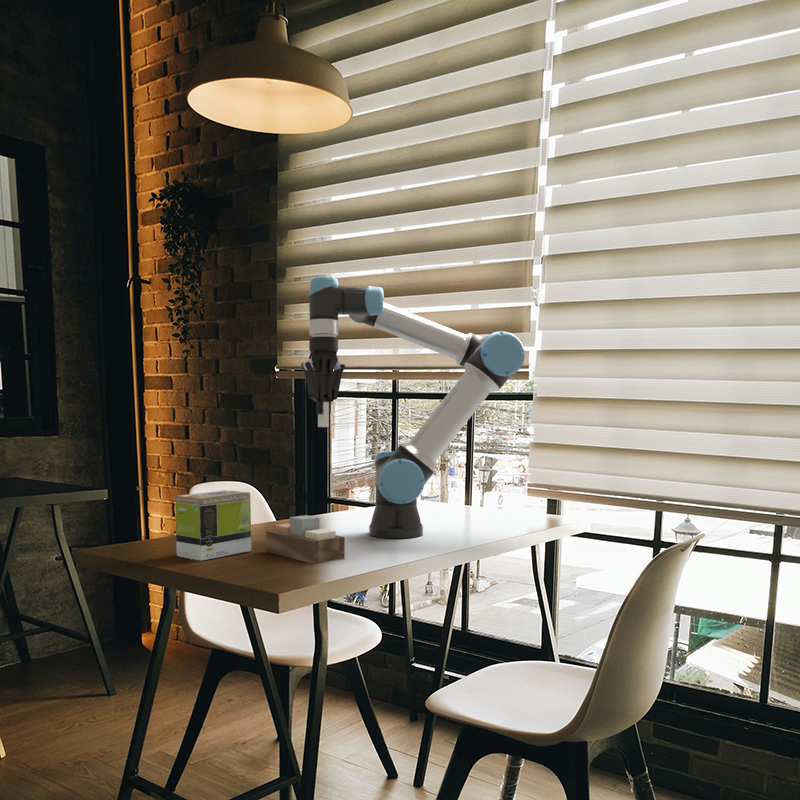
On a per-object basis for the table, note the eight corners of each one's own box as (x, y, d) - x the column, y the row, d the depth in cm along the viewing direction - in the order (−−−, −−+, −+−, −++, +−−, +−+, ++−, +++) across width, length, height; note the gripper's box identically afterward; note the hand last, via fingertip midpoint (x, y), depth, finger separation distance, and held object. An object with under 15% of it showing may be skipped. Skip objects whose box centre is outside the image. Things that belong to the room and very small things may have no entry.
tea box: (226, 547, 183) (226, 488, 183) (252, 552, 177) (252, 491, 177) (174, 556, 172) (175, 493, 172) (200, 562, 165) (200, 497, 165)
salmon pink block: (292, 545, 181) (292, 522, 182) (303, 548, 178) (304, 525, 178) (275, 547, 178) (275, 525, 178) (286, 550, 174) (286, 527, 175)
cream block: (322, 552, 172) (322, 528, 172) (335, 555, 169) (335, 531, 169) (305, 555, 169) (305, 531, 169) (317, 558, 165) (318, 533, 165)
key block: (296, 547, 183) (297, 527, 184) (344, 558, 169) (344, 537, 169) (266, 551, 177) (266, 531, 177) (313, 563, 163) (313, 541, 163)
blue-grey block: (307, 538, 177) (307, 515, 177) (319, 540, 173) (319, 517, 173) (289, 540, 174) (290, 517, 174) (301, 543, 170) (302, 519, 170)
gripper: (334, 339, 197) (334, 426, 197) (294, 336, 188) (294, 427, 188) (352, 337, 192) (351, 426, 191) (311, 333, 183) (311, 427, 182)
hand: (323, 426), depth 189 cm, fingers closed
